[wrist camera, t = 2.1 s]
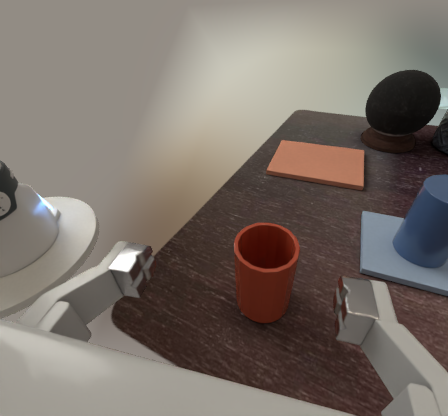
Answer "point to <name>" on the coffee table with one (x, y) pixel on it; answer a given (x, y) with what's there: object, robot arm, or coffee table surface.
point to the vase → (442, 135)
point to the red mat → (319, 164)
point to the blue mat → (394, 256)
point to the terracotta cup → (265, 270)
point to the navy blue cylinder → (426, 226)
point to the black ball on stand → (400, 110)
